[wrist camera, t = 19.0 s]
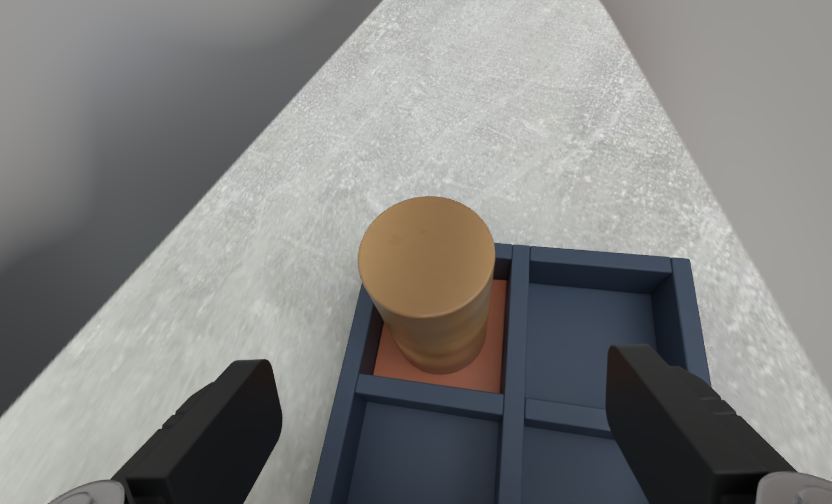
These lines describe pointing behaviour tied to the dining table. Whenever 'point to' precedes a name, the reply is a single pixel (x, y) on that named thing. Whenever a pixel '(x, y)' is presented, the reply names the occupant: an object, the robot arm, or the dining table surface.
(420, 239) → the wooden dowel cylinder
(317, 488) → the grid
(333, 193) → the dining table surface
